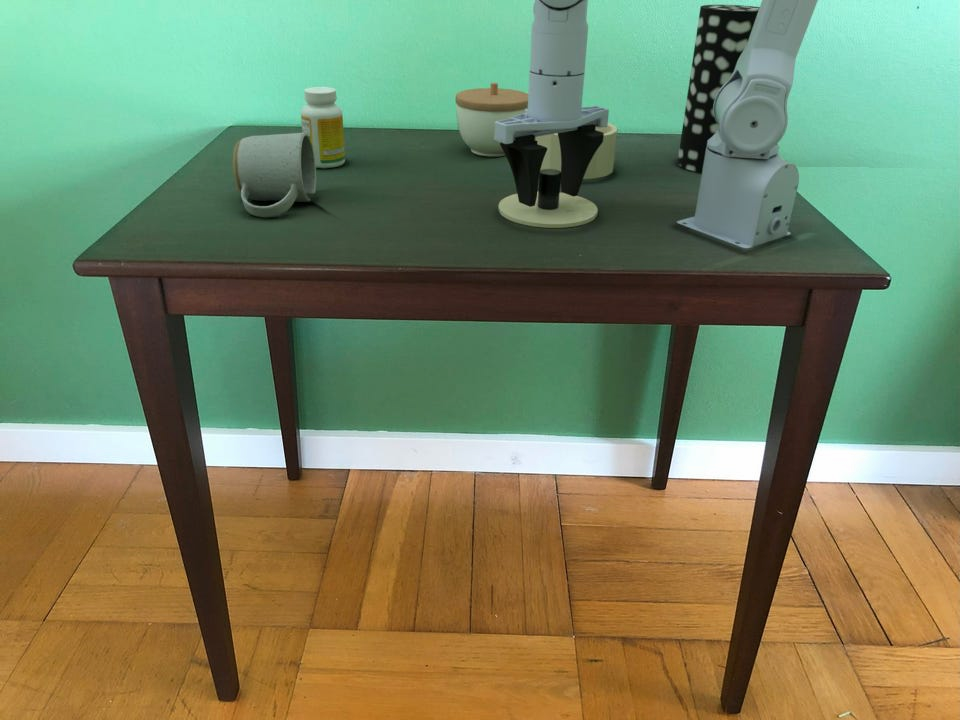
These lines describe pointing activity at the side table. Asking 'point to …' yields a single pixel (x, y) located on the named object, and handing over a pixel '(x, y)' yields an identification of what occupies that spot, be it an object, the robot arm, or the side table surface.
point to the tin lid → (549, 206)
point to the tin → (599, 162)
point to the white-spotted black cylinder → (711, 74)
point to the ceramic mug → (274, 171)
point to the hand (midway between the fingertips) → (548, 198)
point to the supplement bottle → (324, 126)
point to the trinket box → (486, 115)
